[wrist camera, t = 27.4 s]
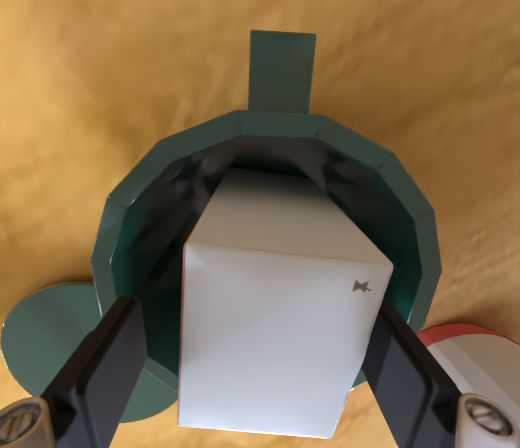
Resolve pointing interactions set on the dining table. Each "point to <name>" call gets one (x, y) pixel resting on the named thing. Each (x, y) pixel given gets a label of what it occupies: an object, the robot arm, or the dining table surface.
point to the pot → (266, 160)
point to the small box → (274, 308)
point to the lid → (66, 344)
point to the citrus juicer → (478, 362)
